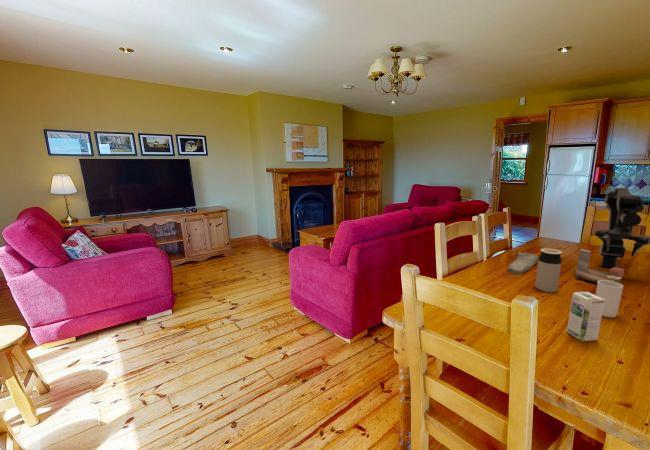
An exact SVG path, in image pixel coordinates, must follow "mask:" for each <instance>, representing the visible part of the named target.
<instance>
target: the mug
mask: <svg viewBox="0 0 650 450" xmlns="http://www.w3.org/2000/svg"><path fill="white" fill-rule="evenodd" d="M596 284H597V285H596V289H595V290H596V292H595V296H598V297H600V298H602V299H605V303H604V308H603V313H602V317H605V318H615V317H617V315H618V311H619V308H620V307H619V306H620V303H621V298H622V294H623V289H624V285H623V284H621V283H617V282H613V281H608V280H599V281H598V283H596Z"/></svg>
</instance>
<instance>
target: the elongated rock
mask: <svg viewBox="0 0 650 450" xmlns="http://www.w3.org/2000/svg"><path fill="white" fill-rule="evenodd" d="M516 256H517V257H516V258H515V260H513V261H512V262H511V263H509V265H508V268H507V271H508V272H509V273H510V274H513V275H522V274H523V273H526V272H527V271H529V270H530V269H531V268H533V267H534V266H536V264H538V261H539V256H538V255H537V254H534V253H528V252H521V251H519V252H518V253H517V254H516Z"/></svg>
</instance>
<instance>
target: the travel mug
mask: <svg viewBox="0 0 650 450" xmlns="http://www.w3.org/2000/svg"><path fill="white" fill-rule="evenodd" d="M562 254H563V252H562V250H559V249H555V248H547V247H546V248H540V254H539V256H538V261H537V268H536V278H535V286H534V287H535V288H536V289H538V290H539V291H542V292H545V293H555V292H558V289H559V288H558V287H559V281H560V275H561V268H562V260H563V259H562V257H561V255H562Z"/></svg>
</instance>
